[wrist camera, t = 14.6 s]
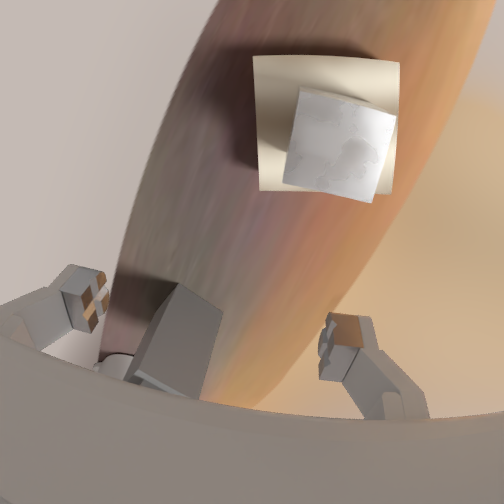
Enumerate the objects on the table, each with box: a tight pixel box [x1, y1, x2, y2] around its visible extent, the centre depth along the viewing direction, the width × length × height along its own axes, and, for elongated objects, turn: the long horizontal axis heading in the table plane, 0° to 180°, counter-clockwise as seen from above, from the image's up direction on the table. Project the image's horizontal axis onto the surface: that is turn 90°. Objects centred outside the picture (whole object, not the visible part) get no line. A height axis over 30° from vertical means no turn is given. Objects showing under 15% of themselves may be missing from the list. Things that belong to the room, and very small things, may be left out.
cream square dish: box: [253, 55, 400, 195], centre depth 25 cm, size 11×11×5 cm
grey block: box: [282, 85, 397, 203], centre depth 20 cm, size 6×6×7 cm
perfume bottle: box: [123, 283, 223, 400], centre depth 34 cm, size 7×7×18 cm
